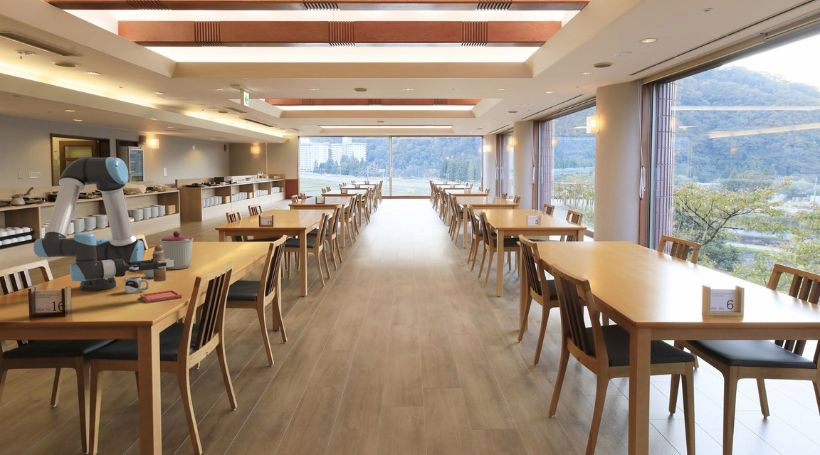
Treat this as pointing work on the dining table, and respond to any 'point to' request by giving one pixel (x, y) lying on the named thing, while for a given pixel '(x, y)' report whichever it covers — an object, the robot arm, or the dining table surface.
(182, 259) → the canister
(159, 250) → the pepper mill
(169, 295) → the tray
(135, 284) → the mug
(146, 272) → the teacup
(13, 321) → the dining table surface
